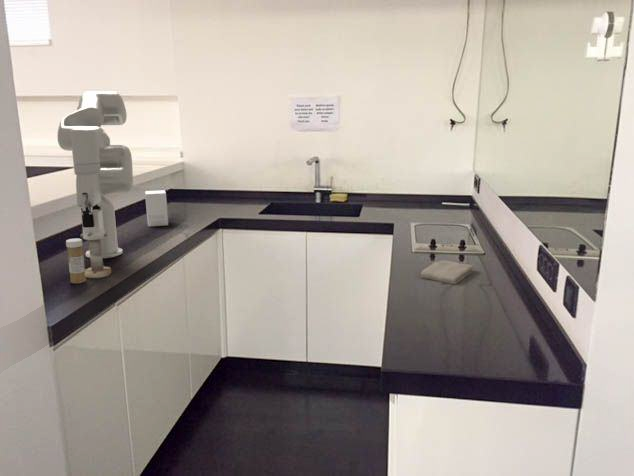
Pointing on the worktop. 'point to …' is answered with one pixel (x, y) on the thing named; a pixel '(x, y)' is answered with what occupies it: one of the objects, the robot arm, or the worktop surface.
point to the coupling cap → (95, 227)
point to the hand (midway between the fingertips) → (92, 223)
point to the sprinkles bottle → (76, 260)
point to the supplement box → (156, 208)
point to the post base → (99, 274)
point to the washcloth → (446, 271)
